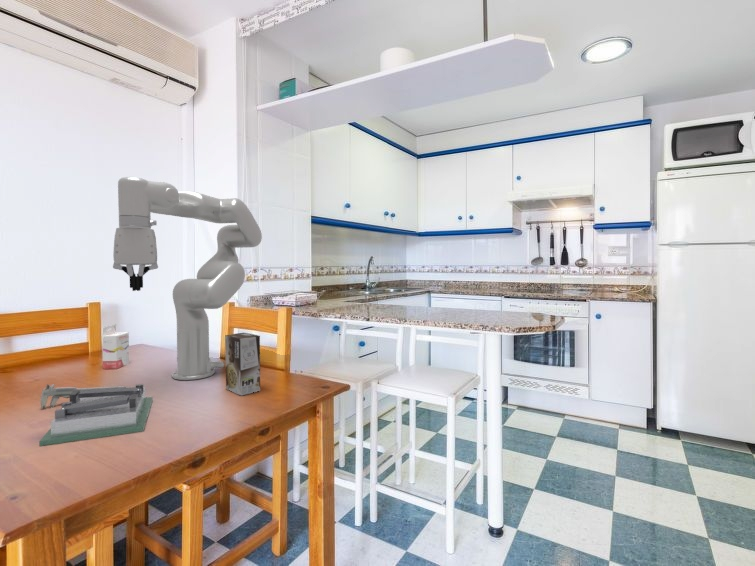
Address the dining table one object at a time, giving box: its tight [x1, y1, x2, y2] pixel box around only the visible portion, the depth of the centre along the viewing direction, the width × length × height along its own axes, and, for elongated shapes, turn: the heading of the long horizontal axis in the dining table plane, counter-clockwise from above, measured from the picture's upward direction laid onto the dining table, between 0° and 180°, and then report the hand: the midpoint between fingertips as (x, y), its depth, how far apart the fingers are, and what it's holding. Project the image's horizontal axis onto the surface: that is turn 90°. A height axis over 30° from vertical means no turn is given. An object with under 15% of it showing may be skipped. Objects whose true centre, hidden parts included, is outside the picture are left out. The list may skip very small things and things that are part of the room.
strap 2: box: [78, 386, 142, 398], centre depth 98 cm, size 13×3×1 cm, turn 115°
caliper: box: [40, 383, 127, 410], centre depth 109 cm, size 20×1×6 cm, turn 144°
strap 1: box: [60, 396, 129, 414], centre depth 90 cm, size 13×3×1 cm, turn 114°
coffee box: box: [224, 332, 261, 397], centre depth 117 cm, size 9×6×16 cm
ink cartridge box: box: [101, 323, 130, 370], centre depth 144 cm, size 9×5×15 cm, turn 6°
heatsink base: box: [38, 383, 154, 447], centre depth 94 cm, size 18×22×6 cm
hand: (136, 290), depth 112 cm, fingers closed
